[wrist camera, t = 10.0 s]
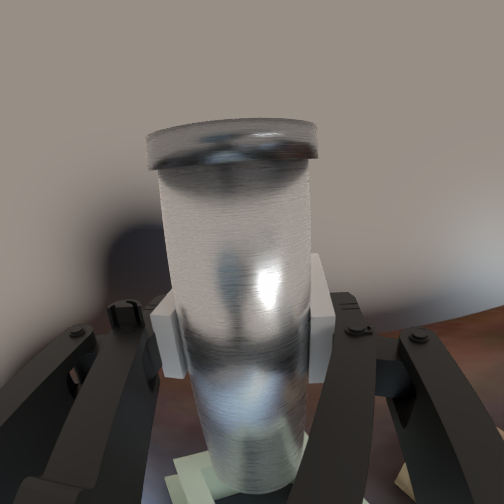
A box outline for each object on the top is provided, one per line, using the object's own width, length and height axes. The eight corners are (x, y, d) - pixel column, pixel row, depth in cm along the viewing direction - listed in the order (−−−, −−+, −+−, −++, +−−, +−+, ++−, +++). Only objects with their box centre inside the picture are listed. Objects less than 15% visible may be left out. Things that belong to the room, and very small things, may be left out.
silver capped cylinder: (279, 414, 17) (268, 136, 12) (326, 473, 12) (353, 123, 8) (195, 440, 15) (140, 145, 10) (227, 513, 10) (154, 122, 6)
